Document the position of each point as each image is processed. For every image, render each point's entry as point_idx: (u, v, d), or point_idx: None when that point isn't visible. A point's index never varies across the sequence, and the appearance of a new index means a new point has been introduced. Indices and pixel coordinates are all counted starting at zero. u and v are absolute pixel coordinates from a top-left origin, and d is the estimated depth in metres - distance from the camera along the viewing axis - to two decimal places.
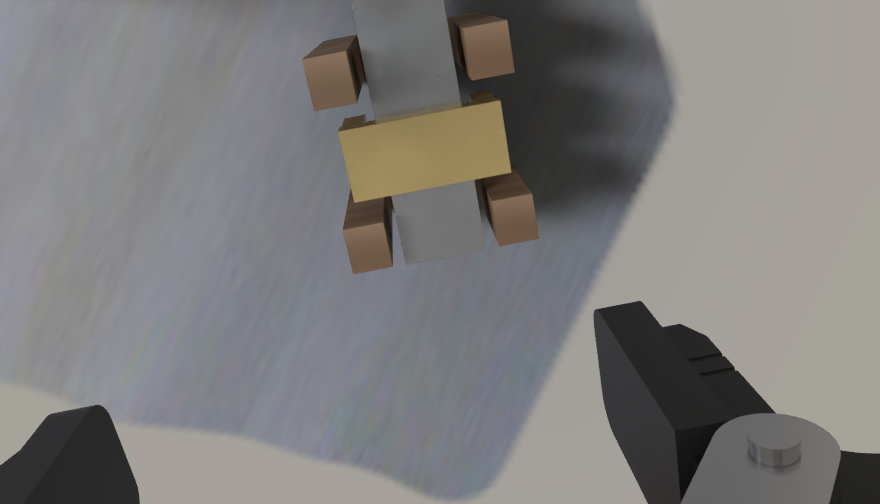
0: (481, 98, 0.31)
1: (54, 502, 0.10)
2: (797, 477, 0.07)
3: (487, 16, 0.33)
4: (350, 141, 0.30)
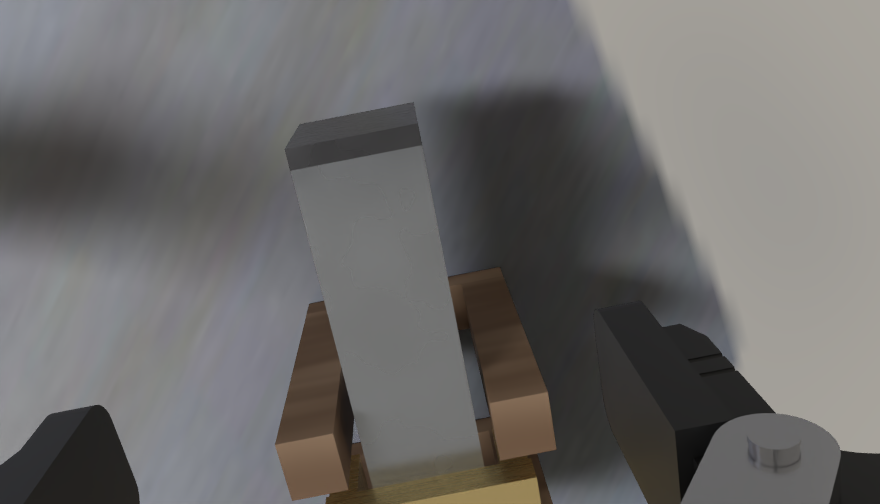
0: None
1: (54, 502, 0.10)
2: (797, 477, 0.07)
3: (515, 326, 0.26)
4: None
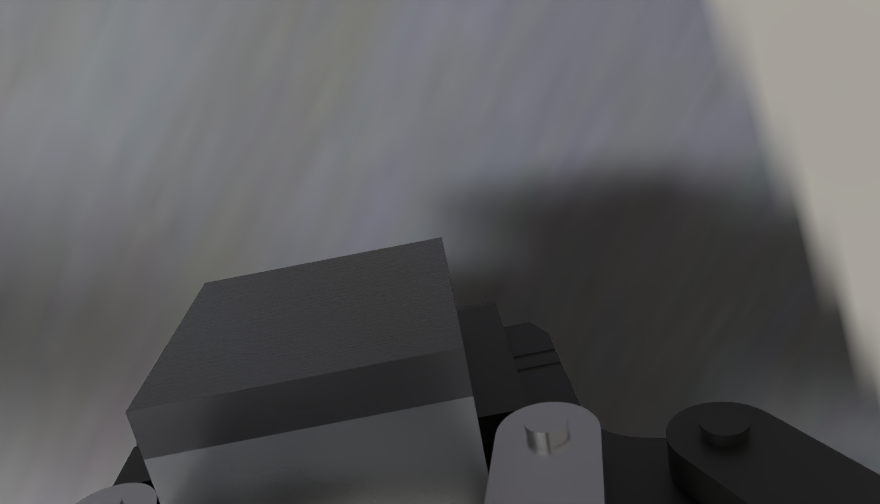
0: None
1: None
2: (554, 457, 0.08)
3: None
4: None
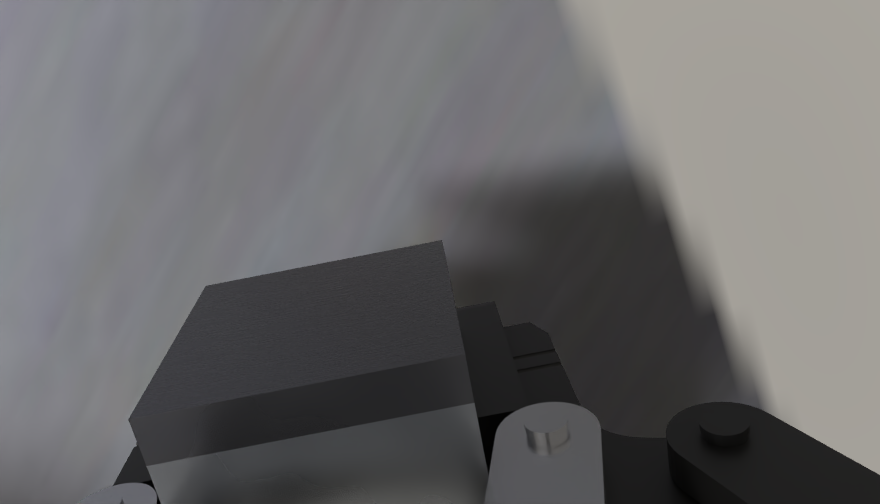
0: None
1: None
2: (554, 457, 0.08)
3: None
4: None
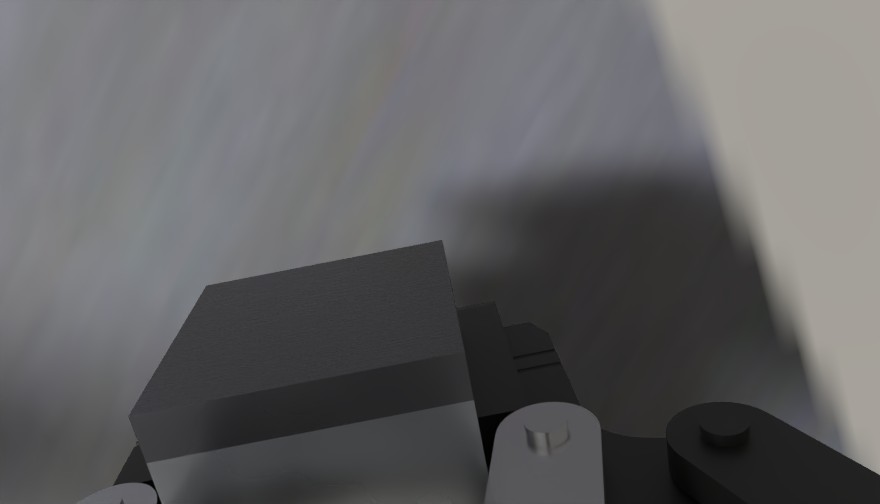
0: None
1: None
2: (554, 457, 0.08)
3: None
4: None
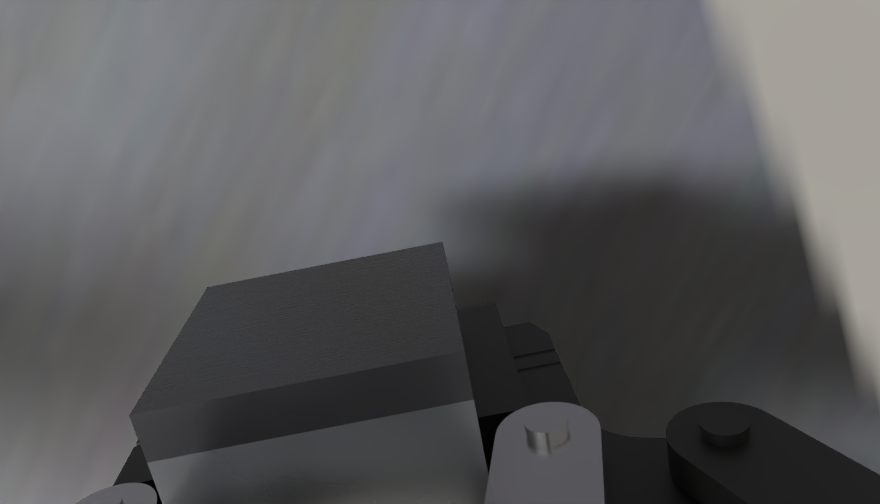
0: None
1: None
2: (555, 457, 0.08)
3: None
4: None
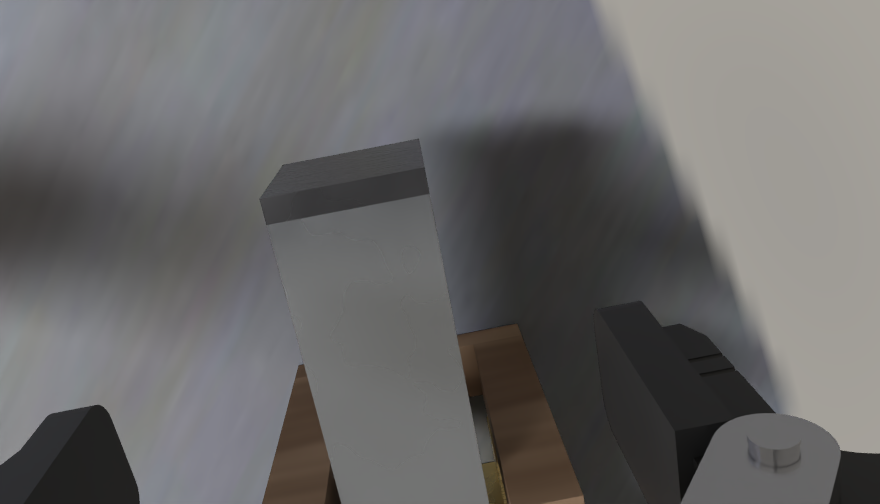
0: None
1: (54, 502, 0.10)
2: (797, 477, 0.07)
3: (539, 402, 0.22)
4: None
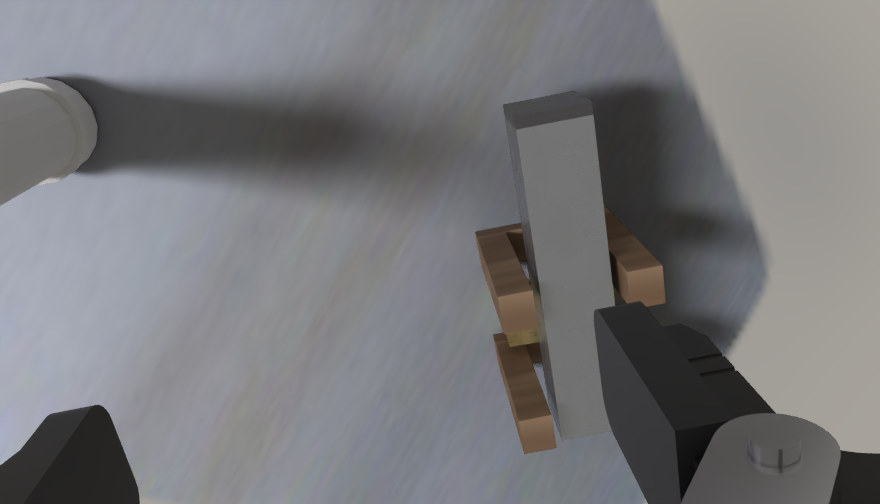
0: None
1: (54, 502, 0.10)
2: (797, 477, 0.07)
3: (630, 236, 0.40)
4: None
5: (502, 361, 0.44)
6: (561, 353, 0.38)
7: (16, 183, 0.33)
